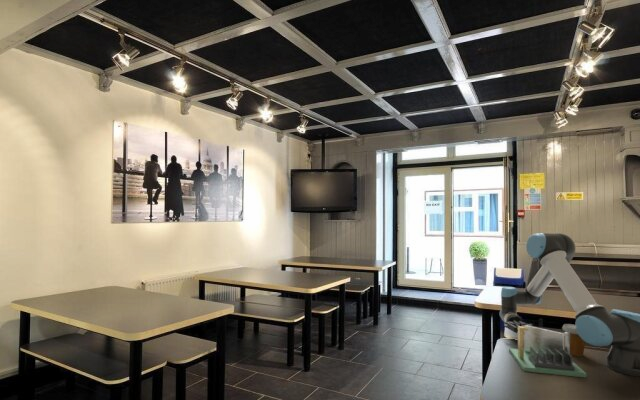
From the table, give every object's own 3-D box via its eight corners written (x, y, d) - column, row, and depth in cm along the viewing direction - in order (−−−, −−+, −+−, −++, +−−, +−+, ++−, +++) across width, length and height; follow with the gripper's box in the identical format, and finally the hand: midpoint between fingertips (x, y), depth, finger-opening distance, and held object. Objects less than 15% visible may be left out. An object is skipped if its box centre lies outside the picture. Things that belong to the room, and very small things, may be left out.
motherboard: (563, 356, 166) (563, 353, 166) (586, 377, 144) (586, 373, 144) (508, 351, 171) (508, 348, 171) (523, 370, 149) (523, 367, 149)
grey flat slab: (564, 359, 157) (564, 333, 158) (563, 360, 156) (562, 334, 157) (525, 349, 168) (525, 325, 169) (524, 350, 167) (524, 325, 168)
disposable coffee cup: (591, 358, 164) (591, 330, 165) (567, 356, 166) (567, 329, 167) (581, 350, 174) (581, 324, 174) (558, 349, 176) (558, 323, 176)
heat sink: (568, 360, 157) (568, 329, 157) (580, 371, 146) (580, 338, 147) (517, 356, 161) (517, 325, 162) (525, 366, 151) (525, 333, 151)
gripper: (527, 330, 192) (544, 345, 169) (500, 327, 195) (512, 342, 172) (527, 315, 192) (544, 328, 169) (500, 313, 195) (512, 326, 172)
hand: (528, 335), depth 170 cm, fingers closed
